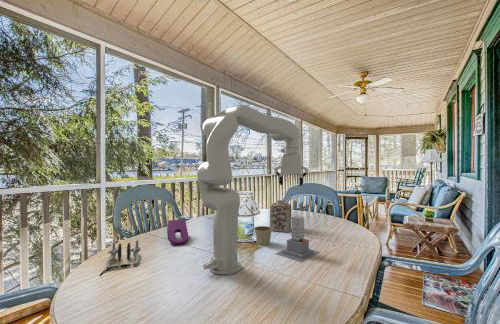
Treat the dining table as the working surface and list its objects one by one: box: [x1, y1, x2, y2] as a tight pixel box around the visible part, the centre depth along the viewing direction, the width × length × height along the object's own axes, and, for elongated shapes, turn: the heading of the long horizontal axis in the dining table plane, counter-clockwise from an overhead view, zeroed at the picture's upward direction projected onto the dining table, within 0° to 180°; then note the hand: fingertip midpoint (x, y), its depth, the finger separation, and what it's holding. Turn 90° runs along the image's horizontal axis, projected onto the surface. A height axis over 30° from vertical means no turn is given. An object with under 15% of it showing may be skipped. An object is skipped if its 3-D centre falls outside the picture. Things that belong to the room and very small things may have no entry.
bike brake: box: [99, 239, 141, 277], centre depth 106 cm, size 14×7×20 cm
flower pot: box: [253, 225, 273, 246], centre depth 129 cm, size 9×9×9 cm
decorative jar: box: [269, 199, 292, 233], centre depth 159 cm, size 12×12×18 cm
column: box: [291, 215, 305, 242], centre depth 115 cm, size 4×4×14 cm
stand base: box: [274, 237, 321, 263], centre depth 115 cm, size 16×14×8 cm
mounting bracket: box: [166, 218, 189, 246], centre depth 138 cm, size 10×8×18 cm
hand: (291, 185), depth 130 cm, fingers open, 9 cm apart
